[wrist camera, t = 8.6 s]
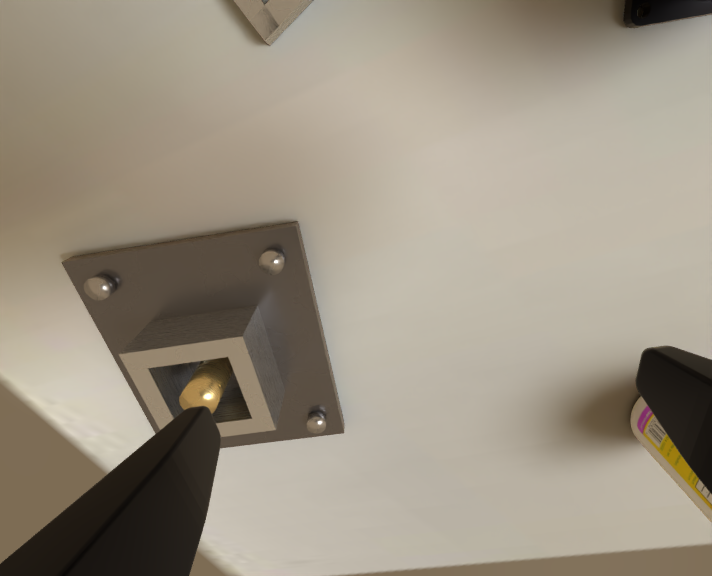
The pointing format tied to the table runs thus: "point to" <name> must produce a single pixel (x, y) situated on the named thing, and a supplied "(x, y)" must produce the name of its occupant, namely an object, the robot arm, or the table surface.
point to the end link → (204, 342)
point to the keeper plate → (216, 293)
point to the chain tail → (271, 15)
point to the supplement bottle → (668, 456)
